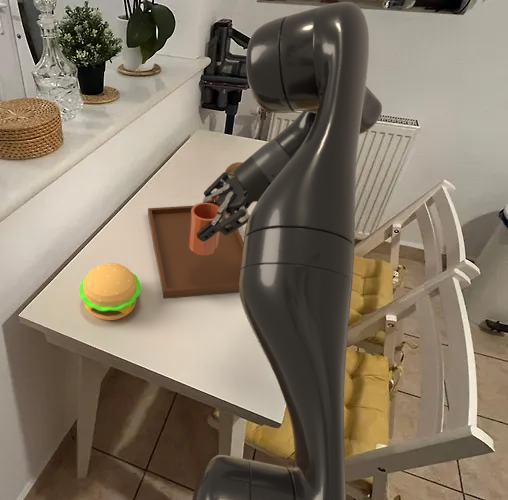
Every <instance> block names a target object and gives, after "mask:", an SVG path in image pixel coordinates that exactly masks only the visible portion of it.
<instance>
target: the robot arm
mask: <svg viewBox="0 0 508 500" xmlns="http://www.w3.org/2000/svg"><path fill="white" fill-rule="evenodd" d="M369 36H370V35H369V27H368V23H367V18H366V16H365V14H364V12H363V10H362V8H361V7H360V6H359V5H357V4H356V3H354V2H350V1H340V2H333V3H329V4H325V5H320V6H318V7H314V8H311V9H307V10H304V11H301V12H297V13H294V14H290V15H284V16H282V17H279V18H275V19H273V20H270V21H268V22H265V23H264V24H262V25H261V26H259V27H258V28H257V29H255V31H254V32H253V33H252V34H251V36H250V38H249V40H248V45H247V48H246V58H245V59H246V60H245V62H246V64H245V65H246V66H245V68H246V77H247V83H248V86H249V90H250V93H251V96H252V98H253V99H254V101H255V102H256V105H258V106H259V107H260V108H261V109H262V110H264V111H265V112H267V113H273V114H291V113H296V112H301V113H299V114H298V116H297V117H296V118H295V119H294V121H292V123H290V124H289V125H288V126H287V127H285V128H284V129H283V130H282V131H280V133H278V134H277V135H276V136H274V138H272V139H270V140H269V141H267V142H266V143H265V144H264V145H262V146H261V147H260V148H258V149H257V150H256V151H255V152H254V153H253V154H251V155H250V156H248V158H246V160H244V161H243V162H242V164H241V165H240V166H239V167H237V168H236V169H235V170H234V176H235V177H233V178H231V177H230V176H229V175H228V174H227V173H226V172H225V171H224V172H222V173H221V174H220V175H219V176H218V177H217V178H216V179H215V180H214V181H213V182H212V183H211V184H210V185H209V186H208V187H207V188H206V189H205V190H204V192H203V196H204V198H203V200H202V202H201V203H212V204H215V205H217V206H220V207H219V209H218V210H217V215H216V217H215V218H214V219H213V221H212V223H211V222H210V223H209V224H207V225H206V226H205V227H204V228H202V229H201V230H200V231H199V232H197V234H196V235H197V238H198V239H200V240H201V241H203V242H204V241H207V240H208V239H209V238H211V237H212V236H213V235H215V234H216V233H217V232H222V233H223V234H224V235H225V236H227V235H228V234H230V233H232V232H233V231H235V230H236V229H238V230H239V229H240V228H241V227H243V226H245V230H244V236H243V242H244V244H243V252H242V259H241V267H240V276H239V284H238V285H239V292H238V295H239V299H240V303H241V306H242V309H243V313H244V314H245V317H246V319H247V321H248V323H249V326H250V328H251V330H252V332H253V334H254V336H255V338H256V340H257V342H258V345H259V346H260V348H261V350H262V352H263V353H264V356H265V358H266V360H267V362H268V364H269V365H270V368H271V371H273V374H274V376H275V379H276V382H277V384H278V386H279V389H280V392H281V394H282V397H283V401H284V403H285V406H286V408H287V412H288V415H289V420H290V424H291V429H292V437H293V445H294V463H293V464H294V465H293V467H286V466H282V465H277V464H273V463H267V462H263V461H258V460H253V459H247V458H242V457H239V456H233V455H229V454H216V455H214V456H212V457H211V458H209V459H208V460H207V461H206V462H205V463H204V465H203V467H202V469H201V471H200V473H199V475H198V478H197V481H196V484H195V487H194V491H193V495H192V500H346V464H345V463H346V459H345V458H346V457H345V456H346V455H345V384H346V381H345V380H346V366H347V365H346V363H347V352H348V351H347V349H348V338H349V337H348V335H349V322H350V321H349V320H350V312H351V311H350V310H351V302H352V301H351V300H352V290H353V282H354V281H353V278H354V260H355V243H356V242H355V241H356V239H355V237H356V235H355V233H356V185H357V184H356V182H357V181H356V180H357V159H358V149H359V141H360V136H361V135H362V134H364V133H366V132H368V131H369V130H370V129H372V128H373V127H374V126H375V125H376V124H377V122H378V121H379V120H380V117H381V115H382V112H383V104H382V102H381V101H380V100H379V99H378V97H377V96H376V95H375V94H374V93H373V92H372V91H371V89H370V88H369V87H368V86H367V78H368V67H369V56H370V55H369V54H370V37H369ZM253 203H255V205H254V207H253V208H252V210H251V212H250V214H249V211H248V209H249V208H250V206H251V205H252V204H253ZM225 211H226V212H227V213H228V214H229V213H230V215H229V216H228V215H227V214H226V213H225ZM190 216H191V213H190ZM222 217H223V218H224V220H223V221H222V222H219V221H220V220H221V219H222ZM227 225H231V226H229V227H228V228H226V226H227Z"/></svg>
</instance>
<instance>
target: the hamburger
mask: <svg viewBox="0 0 508 500" xmlns="http://www.w3.org/2000/svg"><path fill="white" fill-rule="evenodd" d="M141 286H142V285H141V282H140V279H139V278H138V276H137V275H136V274H135V273H133V272H132V271H131V270H130V269H129V268H128V267H126V266H125V265H123V264H120V263H116V262H108V263H107V262H106V263H102V264H99V265H96V266H94V267H93V268H91V269H90V270H89V271H88V272H87V274H86V275H85V276H83V278H82V280H81V282H80V285H79V286H78V293H79V297H80V299H81V300H82V302H83V305H84V308H85V310H87V311H88V312H89V313H90V314H91V315H92V316H94V317H95V318H97V319H99V320H102V321H115V320H116V321H117V320H119V319H122V318H124V317H126V316H128V315H129V314H130V313H131V312H132V311H133V310H134V308H135V306H136V303H137V299H138V297H139V296H140V294H141V290H142V289H141V288H142V287H141Z"/></svg>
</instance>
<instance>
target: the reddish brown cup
mask: <svg viewBox="0 0 508 500" xmlns="http://www.w3.org/2000/svg"><path fill="white" fill-rule="evenodd" d="M192 206H193V207H192V210H191V219H190V233H189V248H190V250H191V251H192V252H194V253H196V254H198V255H211V254H213V253H215V252H216V251H217V249H218V243H219V236H220V232H217V233H216V234H215V235H213V236H212V237H211V238H209V239H208V240H207V241H204V242H203V241H201V240H200V239H198V238H197V235H196V234H197V232H199V231H200V230H201V229H202V228H204V227H205V226H206V225H207V224H209V223H210V222H211V223H212V221H213V219H214V218H215V217H216V215H217V210H218V209H219V206H217V205H215V204H212V203H202V202H200V203H196V204H195V206H194V205H192ZM221 221H222V219H221V220H220V221H219V222H221Z"/></svg>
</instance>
